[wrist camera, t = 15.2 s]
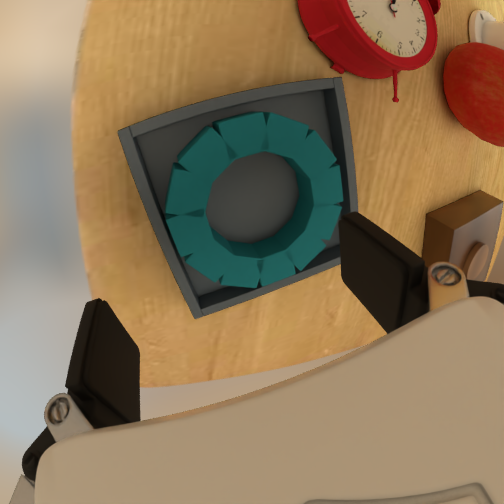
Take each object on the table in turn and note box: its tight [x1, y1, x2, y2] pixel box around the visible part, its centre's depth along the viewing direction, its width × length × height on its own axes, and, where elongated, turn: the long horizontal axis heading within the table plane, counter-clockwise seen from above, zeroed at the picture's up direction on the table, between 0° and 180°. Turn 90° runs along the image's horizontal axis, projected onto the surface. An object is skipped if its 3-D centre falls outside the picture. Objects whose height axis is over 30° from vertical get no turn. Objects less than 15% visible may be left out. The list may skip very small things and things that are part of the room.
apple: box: [443, 42, 504, 147], centre depth 14 cm, size 10×10×10 cm
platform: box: [422, 190, 503, 281], centre depth 26 cm, size 12×12×5 cm
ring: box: [165, 112, 343, 288], centre depth 17 cm, size 11×11×2 cm
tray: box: [118, 77, 358, 319], centre depth 18 cm, size 13×13×2 cm
